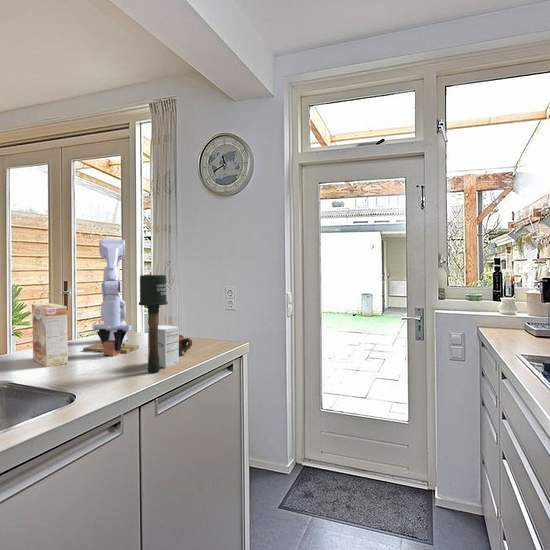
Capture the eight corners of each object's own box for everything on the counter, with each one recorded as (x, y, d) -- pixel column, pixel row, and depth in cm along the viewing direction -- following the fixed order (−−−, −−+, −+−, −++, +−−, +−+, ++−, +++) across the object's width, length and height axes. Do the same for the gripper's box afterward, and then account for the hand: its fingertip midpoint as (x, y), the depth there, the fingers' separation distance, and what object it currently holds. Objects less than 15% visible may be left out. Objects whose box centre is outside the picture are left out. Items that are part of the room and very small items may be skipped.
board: (97, 346, 166) (97, 343, 166) (138, 348, 163) (138, 345, 163) (83, 351, 157) (83, 348, 157) (126, 353, 154) (126, 349, 154)
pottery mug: (157, 358, 148) (156, 336, 152) (169, 364, 157) (168, 343, 161) (188, 350, 147) (187, 329, 151) (199, 357, 155) (197, 336, 159)
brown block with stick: (119, 349, 161) (119, 336, 160) (129, 349, 160) (129, 337, 160) (103, 355, 150) (103, 342, 150) (113, 356, 149) (113, 342, 149)
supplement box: (147, 366, 135) (146, 327, 135) (162, 361, 142) (161, 324, 142) (165, 368, 132) (164, 329, 132) (179, 363, 139) (179, 325, 139)
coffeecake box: (32, 359, 144) (31, 304, 143) (54, 356, 149) (53, 302, 148) (45, 367, 133) (44, 307, 133) (68, 363, 138) (67, 305, 138)
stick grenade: (160, 376, 123) (159, 275, 122) (133, 374, 125) (132, 275, 124) (172, 369, 131) (172, 274, 130) (148, 367, 133) (147, 274, 132)
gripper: (87, 314, 149) (87, 351, 149) (124, 315, 146) (124, 353, 147) (98, 311, 156) (99, 347, 156) (134, 312, 153) (134, 348, 153)
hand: (112, 350), depth 152 cm, fingers open, 4 cm apart
